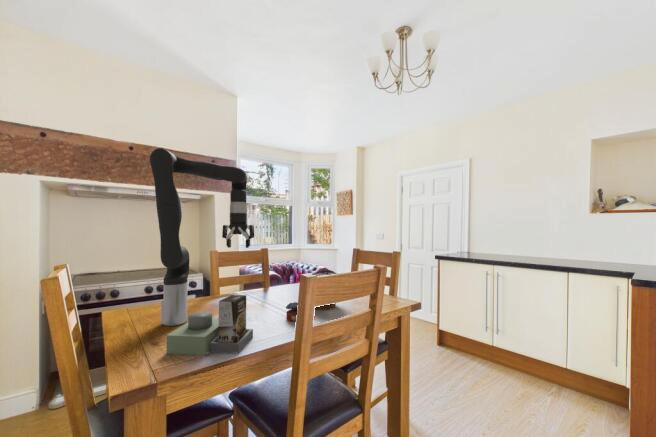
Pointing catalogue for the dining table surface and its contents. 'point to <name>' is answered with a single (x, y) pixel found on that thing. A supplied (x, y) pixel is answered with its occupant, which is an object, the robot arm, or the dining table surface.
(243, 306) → the coffee box
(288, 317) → the canned food
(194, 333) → the grey-green blocky piece
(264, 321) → the dining table surface
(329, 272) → the case
